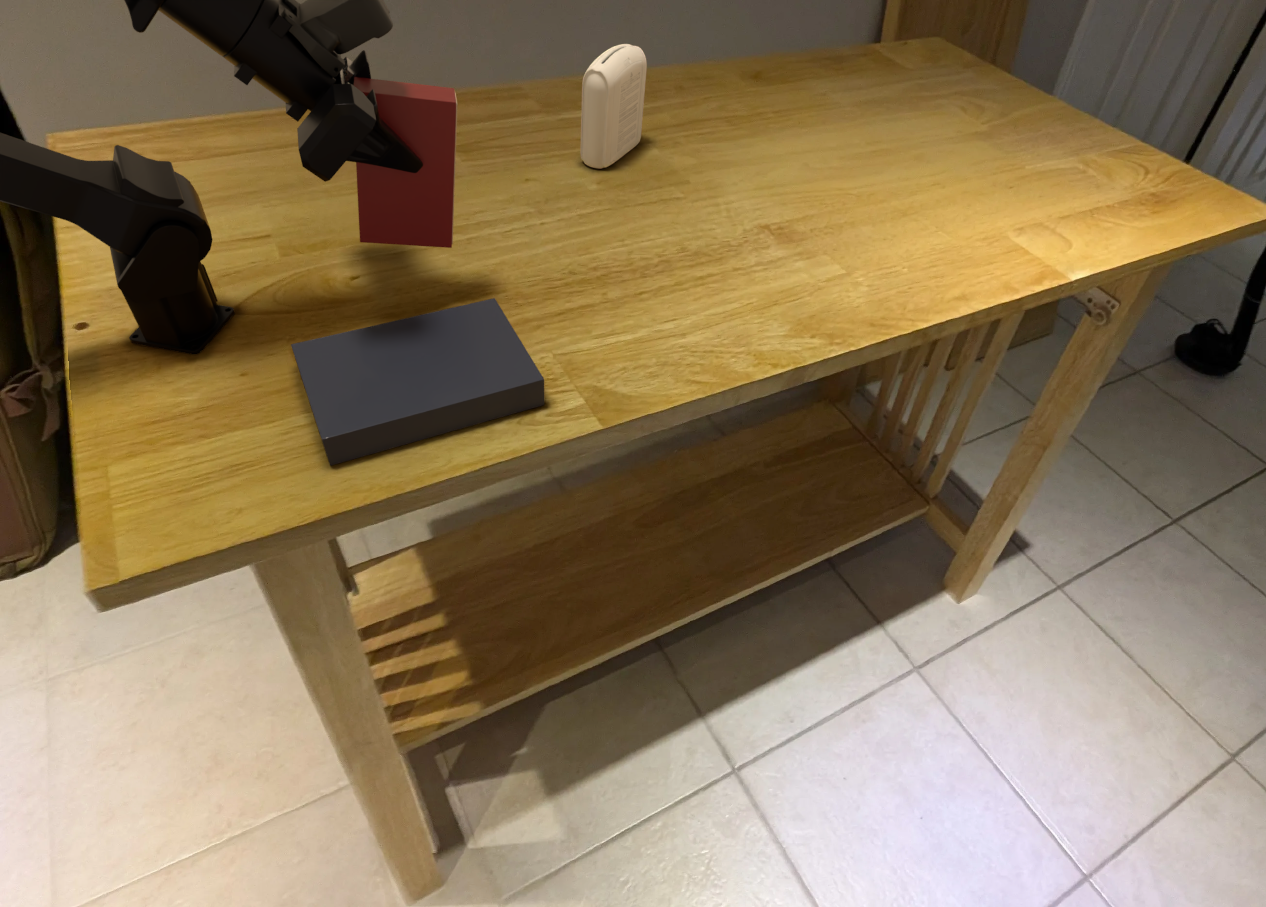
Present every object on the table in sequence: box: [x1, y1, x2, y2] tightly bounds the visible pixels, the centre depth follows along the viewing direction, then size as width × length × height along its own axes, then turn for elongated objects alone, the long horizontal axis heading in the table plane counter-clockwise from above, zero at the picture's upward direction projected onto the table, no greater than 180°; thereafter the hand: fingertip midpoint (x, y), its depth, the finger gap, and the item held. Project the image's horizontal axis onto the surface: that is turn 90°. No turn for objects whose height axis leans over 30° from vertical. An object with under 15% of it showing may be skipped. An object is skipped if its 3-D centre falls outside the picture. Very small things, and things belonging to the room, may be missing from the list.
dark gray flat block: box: [290, 297, 546, 467], centre depth 67 cm, size 18×12×3 cm, turn 117°
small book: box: [353, 77, 458, 249], centre depth 69 cm, size 8×4×13 cm, turn 101°
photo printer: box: [580, 43, 648, 169], centre depth 95 cm, size 10×4×12 cm, turn 151°
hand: (416, 157), depth 68 cm, fingers closed on small book, 4 cm apart
